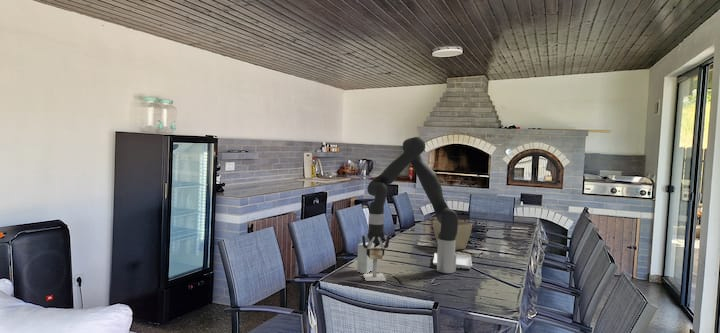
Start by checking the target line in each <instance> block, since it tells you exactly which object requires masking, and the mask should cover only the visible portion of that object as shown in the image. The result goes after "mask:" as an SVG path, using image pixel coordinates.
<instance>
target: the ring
mask: <svg viewBox="0 0 720 333" xmlns="http://www.w3.org/2000/svg"><path fill="white" fill-rule="evenodd" d="M381 248H382V247H374V248H369V249H370V256H369V258H370V259H377V260H382V259H383V257H382V250H381Z"/></svg>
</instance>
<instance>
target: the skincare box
mask: <svg viewBox="0 0 720 333" xmlns="http://www.w3.org/2000/svg"><path fill="white" fill-rule="evenodd" d="M368 242H369V241H368ZM368 242H367V241H365V243H366V245H368ZM370 248H375V243H372V245H371V246H370ZM366 253H367V249H366V248H364V247H363V242H362V243H358V244H357V258H356V259H357V266H356V272H357V273H358V272H360V273H359V274H363V273H366V274H367V273H368V274H370V273H371V272H370V271H372V270H373V259H370V258H369V257H368V255H367V254H366ZM369 272H370V273H369ZM372 272H373V271H372Z"/></svg>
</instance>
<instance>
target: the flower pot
mask: <svg viewBox="0 0 720 333" xmlns="http://www.w3.org/2000/svg"><path fill="white" fill-rule="evenodd" d="M432 227H433V232H434V237H435V240H436V243H437V245H438V233H440V231H441V224H440V223H439V221H438V220H432ZM472 229H473V223H471V222H470V223H469V222H466V221H462V220H459V219H458V230H457V235H456V242H455V251H457V250H459V251H460V250H465V249H466V247H467V245H468V242H469V239H470V238H471V237H470V236H471V233H472Z"/></svg>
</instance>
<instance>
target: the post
mask: <svg viewBox="0 0 720 333" xmlns="http://www.w3.org/2000/svg"><path fill="white" fill-rule="evenodd" d="M377 270H378V259H373V271H372V273H368V274H363V273H362V276H363V275H364V276H363V279H364V278H365V279H364V281H365V280H366V281H386V282H387V279H386V277H385V274H384V273H378V271H377ZM366 281H365V282H366Z"/></svg>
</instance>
